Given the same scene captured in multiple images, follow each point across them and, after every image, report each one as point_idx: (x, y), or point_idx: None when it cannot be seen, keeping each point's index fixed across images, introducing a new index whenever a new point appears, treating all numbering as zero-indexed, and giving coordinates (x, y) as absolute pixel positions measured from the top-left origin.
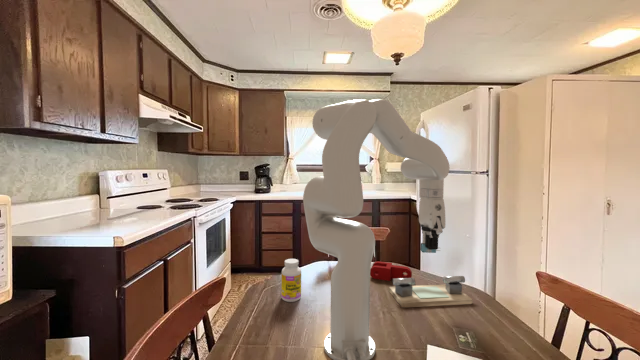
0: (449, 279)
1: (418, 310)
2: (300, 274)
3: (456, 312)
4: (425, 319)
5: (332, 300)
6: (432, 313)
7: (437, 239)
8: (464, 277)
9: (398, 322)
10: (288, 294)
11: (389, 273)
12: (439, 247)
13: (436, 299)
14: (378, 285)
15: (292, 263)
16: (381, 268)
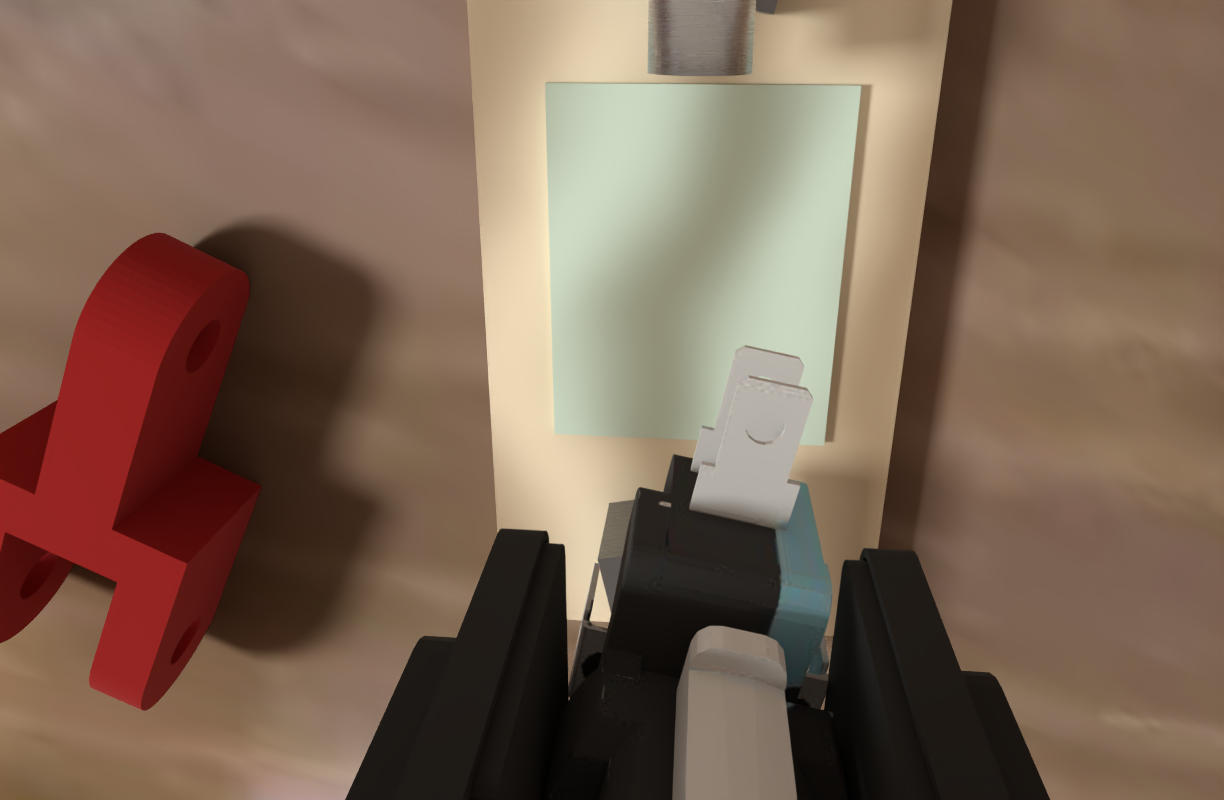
0: (750, 3)
1: (944, 499)
2: None
3: (1094, 138)
4: (1111, 516)
5: None
6: (1034, 402)
7: (997, 798)
8: None
9: (1080, 728)
10: None
11: (217, 537)
12: (741, 392)
13: (873, 273)
14: (381, 631)
15: None
16: (165, 637)
